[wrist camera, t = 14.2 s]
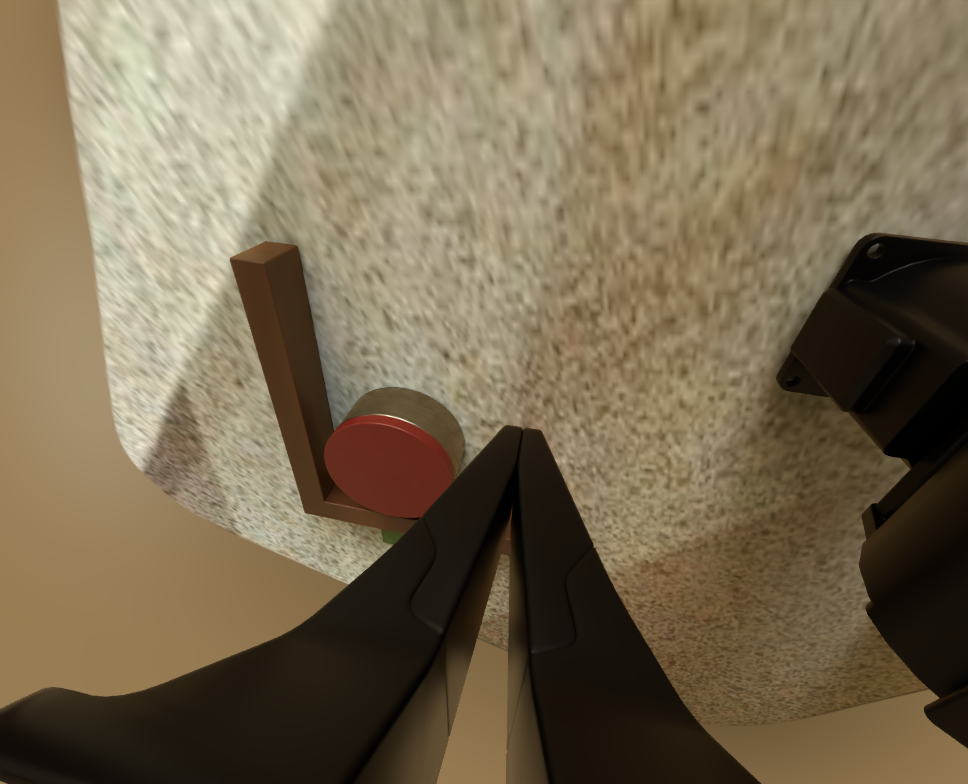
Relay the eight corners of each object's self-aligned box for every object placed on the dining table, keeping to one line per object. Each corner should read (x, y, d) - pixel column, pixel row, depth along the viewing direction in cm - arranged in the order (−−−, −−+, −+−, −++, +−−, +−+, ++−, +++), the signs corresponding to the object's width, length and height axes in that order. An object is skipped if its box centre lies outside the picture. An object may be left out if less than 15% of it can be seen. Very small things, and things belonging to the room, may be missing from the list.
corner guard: (612, 287, 17) (617, 312, 15) (547, 528, 27) (544, 563, 25) (265, 240, 19) (228, 257, 17) (323, 484, 28) (304, 513, 26)
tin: (467, 396, 22) (453, 436, 19) (464, 485, 26) (452, 528, 23) (341, 376, 23) (311, 412, 20) (358, 467, 27) (335, 505, 24)
